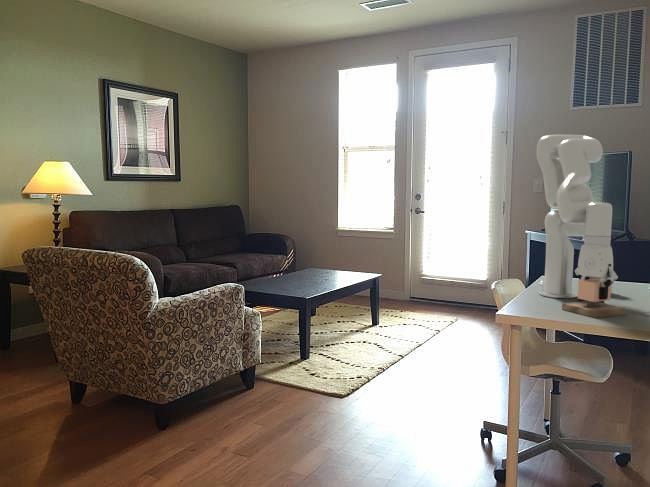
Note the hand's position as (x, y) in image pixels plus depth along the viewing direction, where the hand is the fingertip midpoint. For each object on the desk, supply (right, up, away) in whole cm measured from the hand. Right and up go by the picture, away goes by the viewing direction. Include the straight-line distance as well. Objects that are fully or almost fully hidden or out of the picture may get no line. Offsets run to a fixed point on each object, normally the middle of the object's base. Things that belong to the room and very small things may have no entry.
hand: (594, 296), depth 179 cm
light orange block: (0, -1, 0) cm, 1 cm away
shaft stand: (0, -5, +1) cm, 5 cm away
